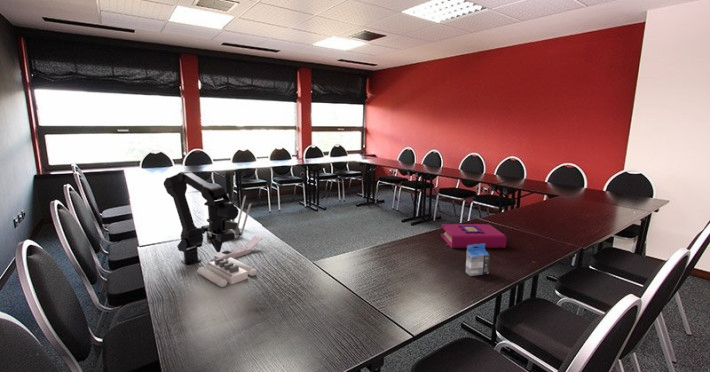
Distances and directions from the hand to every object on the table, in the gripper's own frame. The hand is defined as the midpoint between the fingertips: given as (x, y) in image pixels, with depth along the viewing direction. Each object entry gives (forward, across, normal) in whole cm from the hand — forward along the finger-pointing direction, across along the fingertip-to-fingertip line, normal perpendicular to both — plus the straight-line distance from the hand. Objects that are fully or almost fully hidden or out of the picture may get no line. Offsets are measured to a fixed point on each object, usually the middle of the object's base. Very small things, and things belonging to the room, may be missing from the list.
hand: (218, 252), depth 141 cm
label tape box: (+8, -84, -70) cm, 110 cm away
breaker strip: (+8, -6, 0) cm, 10 cm away
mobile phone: (+8, +10, -14) cm, 19 cm away
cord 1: (+8, -6, +6) cm, 12 cm away
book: (+9, -67, -107) cm, 127 cm away
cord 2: (+8, -6, -6) cm, 12 cm away
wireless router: (+8, +42, -27) cm, 51 cm away
